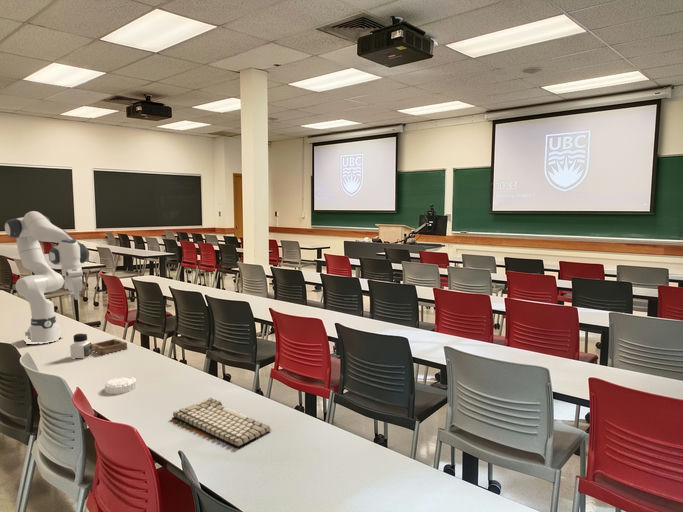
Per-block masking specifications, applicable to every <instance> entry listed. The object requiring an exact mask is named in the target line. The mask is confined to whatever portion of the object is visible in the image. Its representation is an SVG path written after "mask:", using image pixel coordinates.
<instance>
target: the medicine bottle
mask: <svg viewBox="0 0 683 512" xmlns="http://www.w3.org/2000/svg"><path fill="white" fill-rule="evenodd" d="M91 344H92V341H88V334H87V333H84V332H82V333H76V334H74V335H73V343H72V344H71V345H70V347H69V348H70V359H71V358H85V359H87V358H89V357H90V356H89V355H91V354H92V355H93V351H92V345H91ZM92 355H91V356H92ZM88 356H89V357H88ZM86 357H87V358H86Z"/></svg>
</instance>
